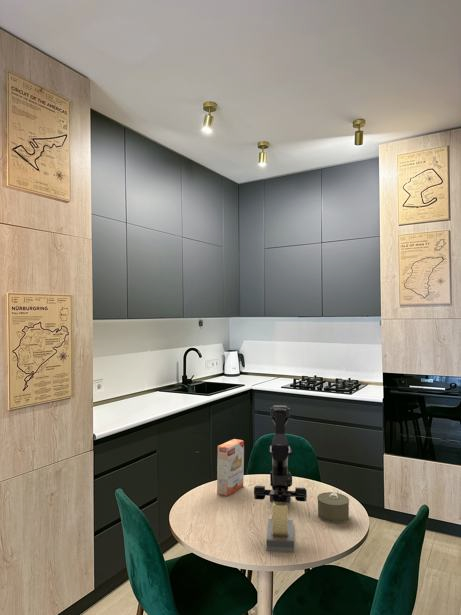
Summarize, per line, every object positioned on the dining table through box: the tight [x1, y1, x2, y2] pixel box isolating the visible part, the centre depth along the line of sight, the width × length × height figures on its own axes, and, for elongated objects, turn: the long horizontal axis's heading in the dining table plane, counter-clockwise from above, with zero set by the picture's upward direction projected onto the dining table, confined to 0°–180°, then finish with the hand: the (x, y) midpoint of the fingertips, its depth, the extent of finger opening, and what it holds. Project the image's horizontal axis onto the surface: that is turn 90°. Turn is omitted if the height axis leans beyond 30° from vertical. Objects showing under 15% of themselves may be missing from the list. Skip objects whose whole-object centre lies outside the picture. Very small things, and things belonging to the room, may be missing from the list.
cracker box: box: [216, 438, 245, 497], centre depth 195 cm, size 14×6×21 cm, turn 148°
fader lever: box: [271, 501, 289, 540], centre depth 147 cm, size 5×6×12 cm
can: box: [316, 491, 350, 524], centre depth 169 cm, size 12×12×7 cm
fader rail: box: [265, 518, 295, 554], centre depth 153 cm, size 20×9×4 cm, turn 173°
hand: (280, 518), depth 151 cm, fingers closed
